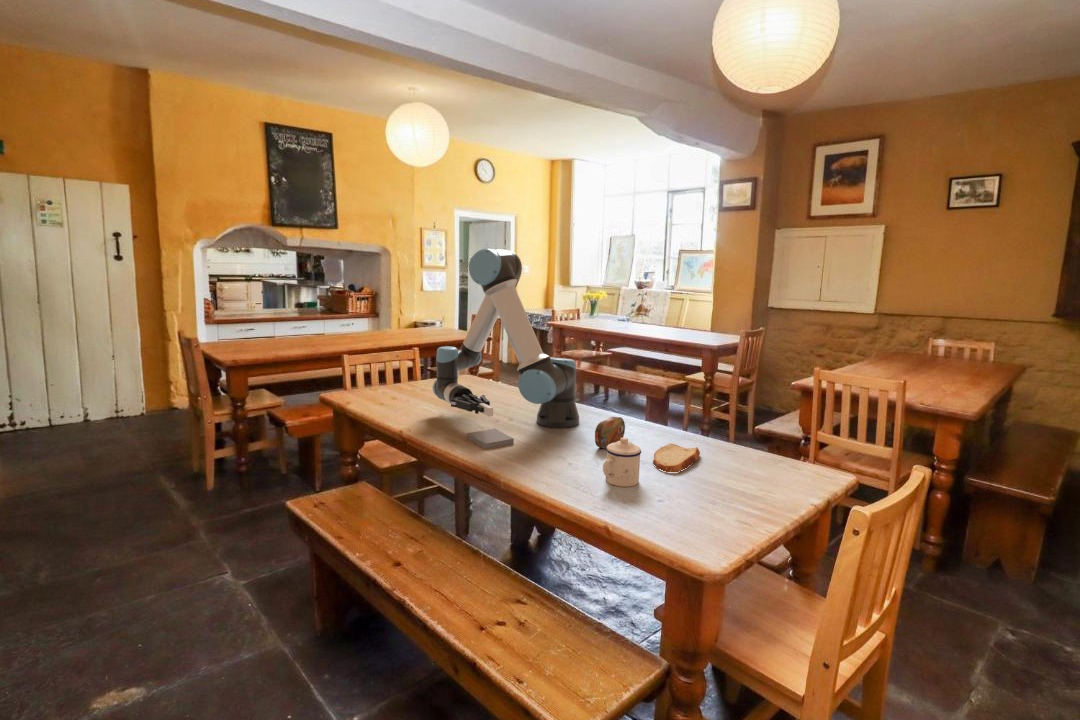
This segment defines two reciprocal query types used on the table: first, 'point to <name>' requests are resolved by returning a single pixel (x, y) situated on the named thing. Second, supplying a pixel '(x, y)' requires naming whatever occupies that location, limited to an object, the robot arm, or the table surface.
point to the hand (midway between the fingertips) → (490, 412)
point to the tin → (609, 431)
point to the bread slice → (675, 457)
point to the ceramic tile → (490, 438)
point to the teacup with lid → (622, 463)
